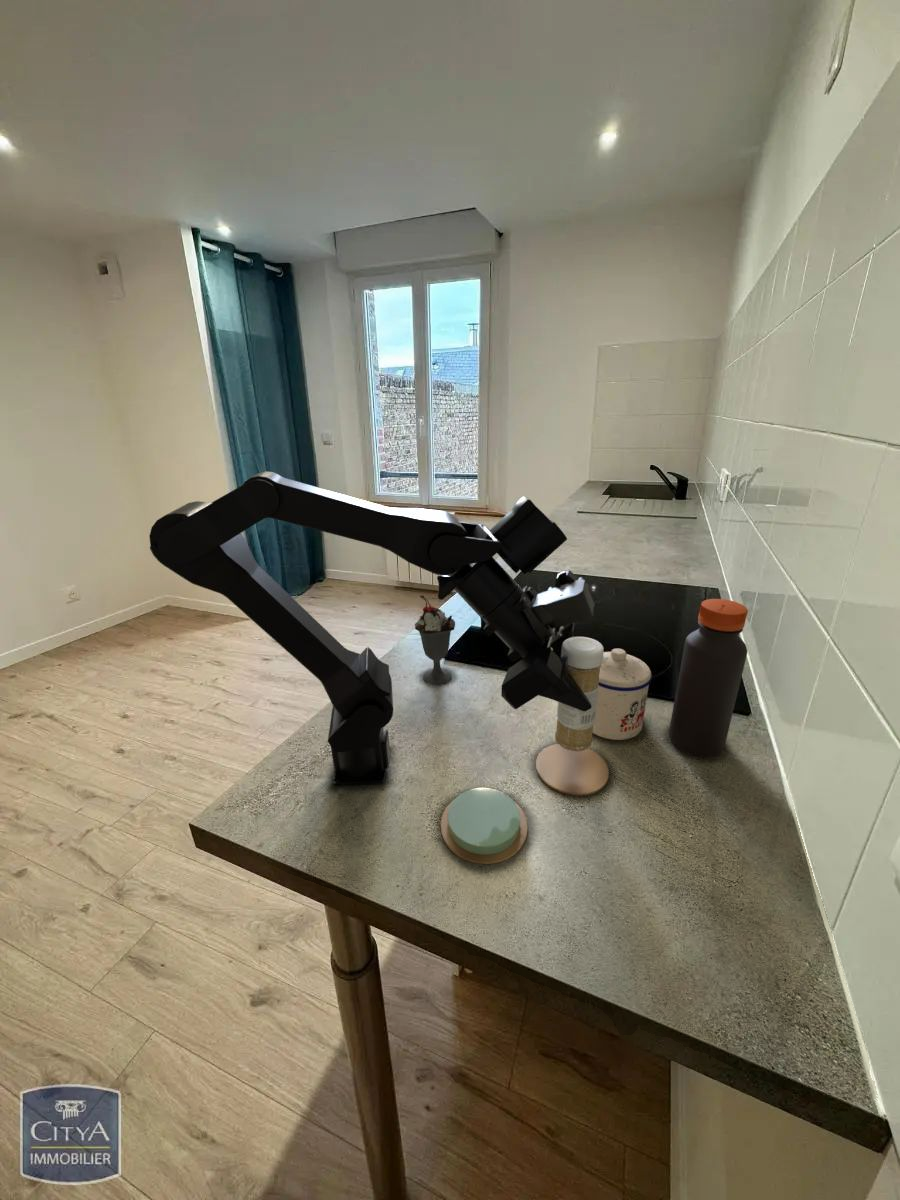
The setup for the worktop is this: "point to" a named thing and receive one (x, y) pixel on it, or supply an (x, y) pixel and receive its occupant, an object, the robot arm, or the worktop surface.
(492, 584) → the robot arm
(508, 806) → the green flat disc
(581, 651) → the sprinkles bottle
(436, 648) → the sundae
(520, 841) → the saucer coaster
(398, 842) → the worktop surface
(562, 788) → the coaster
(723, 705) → the vinegar
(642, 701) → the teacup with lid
